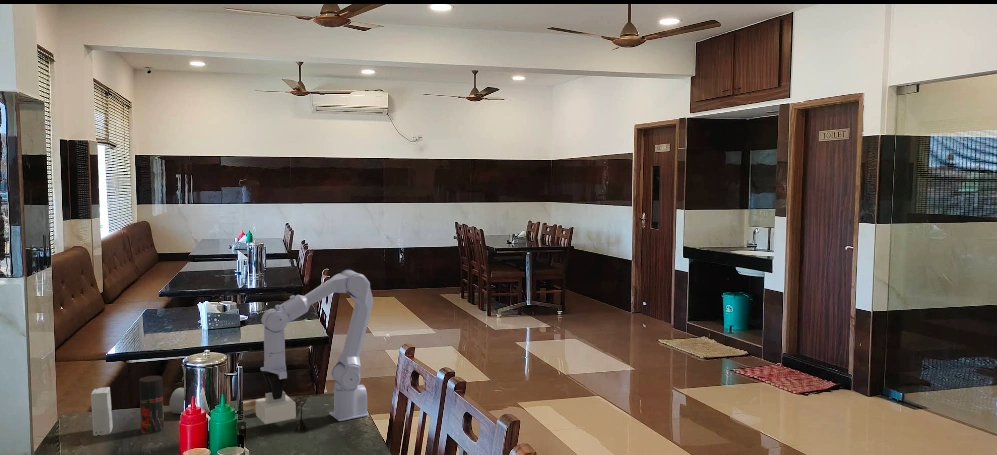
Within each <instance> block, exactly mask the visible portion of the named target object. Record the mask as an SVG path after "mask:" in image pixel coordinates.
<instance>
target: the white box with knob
mask: <svg viewBox="0 0 997 455" xmlns="http://www.w3.org/2000/svg"><path fill="white" fill-rule="evenodd" d="M264 396H265V397H262V398H263V399H261V398H257V399H258V400H256V412H255V416H256V417H257V418H258V419H259V420H260V421H261V422H262V423H264V425H268V424H273V423H279V422H283V421H287V420H288V421H289V420H292V419H296V418H297V407H296V403H297V402H296V401H294V400H293V399H292V398H291V397H289V396H288V395H287V394H286V392H285V391H284V390H283V393H282V397H281V399H276V400H274V399H273V396H272V392H271V393H269V392H268V393H267V392H265V395H264Z"/></svg>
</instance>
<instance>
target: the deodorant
mask: <svg viewBox="0 0 997 455" xmlns="http://www.w3.org/2000/svg"><path fill="white" fill-rule="evenodd" d="M138 381H139V386H138V387H139V409H140V410H139V412H140V413H139V414H140V415H139V416H140V433H142V434H148V435H149V434H155V433H160V432H162V431H164V429H165V428H164V420H165V419H164V395H163V394H164V393H163V391H164V390H163V376H161V375H148V376H144V377H141V378H139V379H138Z"/></svg>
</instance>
